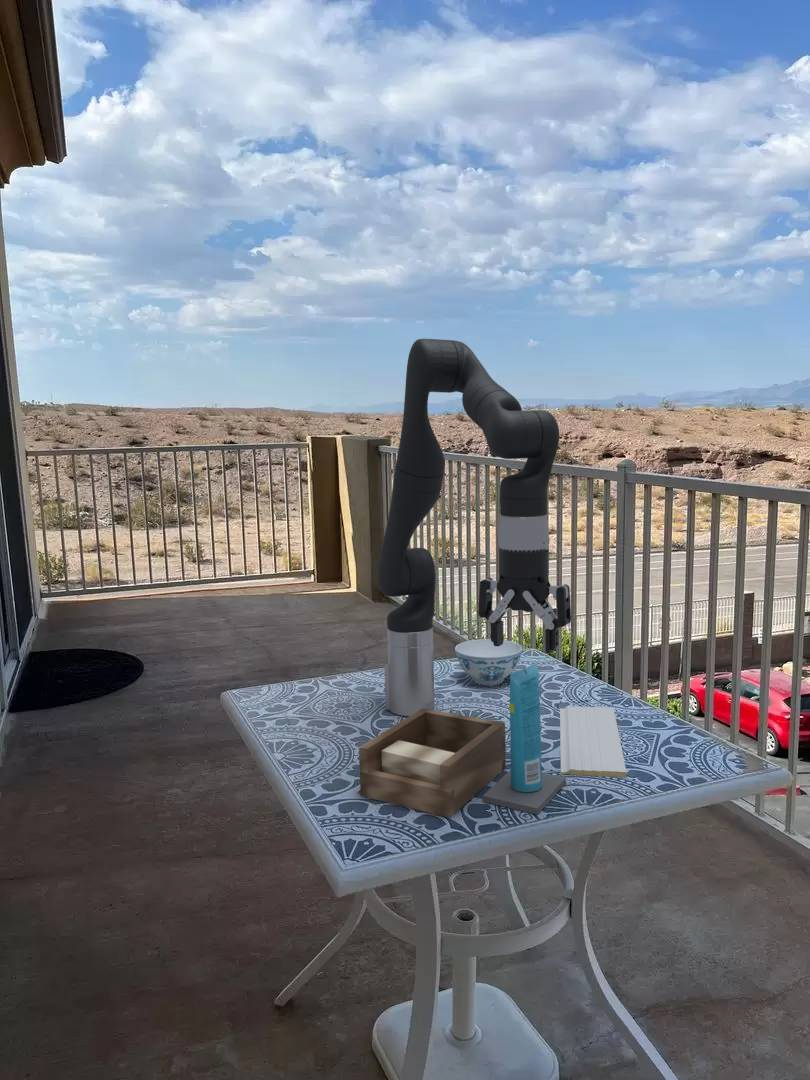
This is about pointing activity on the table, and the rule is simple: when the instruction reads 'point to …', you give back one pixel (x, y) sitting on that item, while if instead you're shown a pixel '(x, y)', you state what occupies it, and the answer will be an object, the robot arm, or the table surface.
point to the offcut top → (415, 758)
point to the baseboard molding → (590, 742)
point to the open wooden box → (459, 774)
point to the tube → (525, 730)
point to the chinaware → (488, 660)
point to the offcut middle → (409, 775)
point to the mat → (524, 794)
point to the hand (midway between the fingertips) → (523, 648)
